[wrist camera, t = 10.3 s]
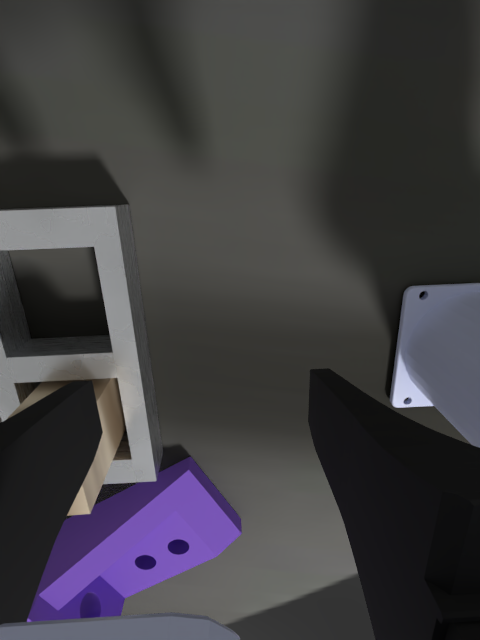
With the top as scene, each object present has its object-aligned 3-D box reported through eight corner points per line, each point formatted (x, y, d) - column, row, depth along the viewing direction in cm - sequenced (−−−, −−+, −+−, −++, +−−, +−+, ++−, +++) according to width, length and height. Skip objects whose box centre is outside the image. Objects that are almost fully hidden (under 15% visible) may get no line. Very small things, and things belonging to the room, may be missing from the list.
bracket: (111, 575, 28) (79, 688, 22) (54, 522, 26) (-1, 631, 20) (240, 514, 27) (245, 618, 20) (190, 453, 24) (178, 547, 18)
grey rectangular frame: (129, 204, 18) (115, 206, 16) (163, 452, 24) (156, 481, 22) (-28, 210, 18) (-66, 213, 16) (43, 459, 24) (23, 488, 21)
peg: (118, 366, 22) (71, 444, 15) (128, 421, 23) (90, 513, 16) (52, 371, 22) (-24, 450, 15) (67, 425, 23) (3, 520, 16)
